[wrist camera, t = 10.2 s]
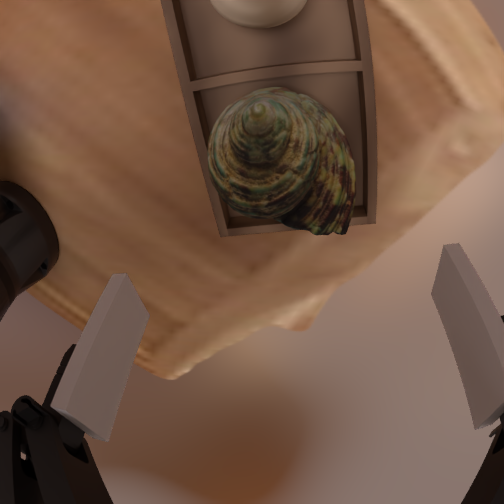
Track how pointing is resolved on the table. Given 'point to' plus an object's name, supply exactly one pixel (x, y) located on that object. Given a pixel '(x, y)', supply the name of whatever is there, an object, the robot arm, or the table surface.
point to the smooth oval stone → (258, 11)
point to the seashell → (283, 161)
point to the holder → (279, 83)
